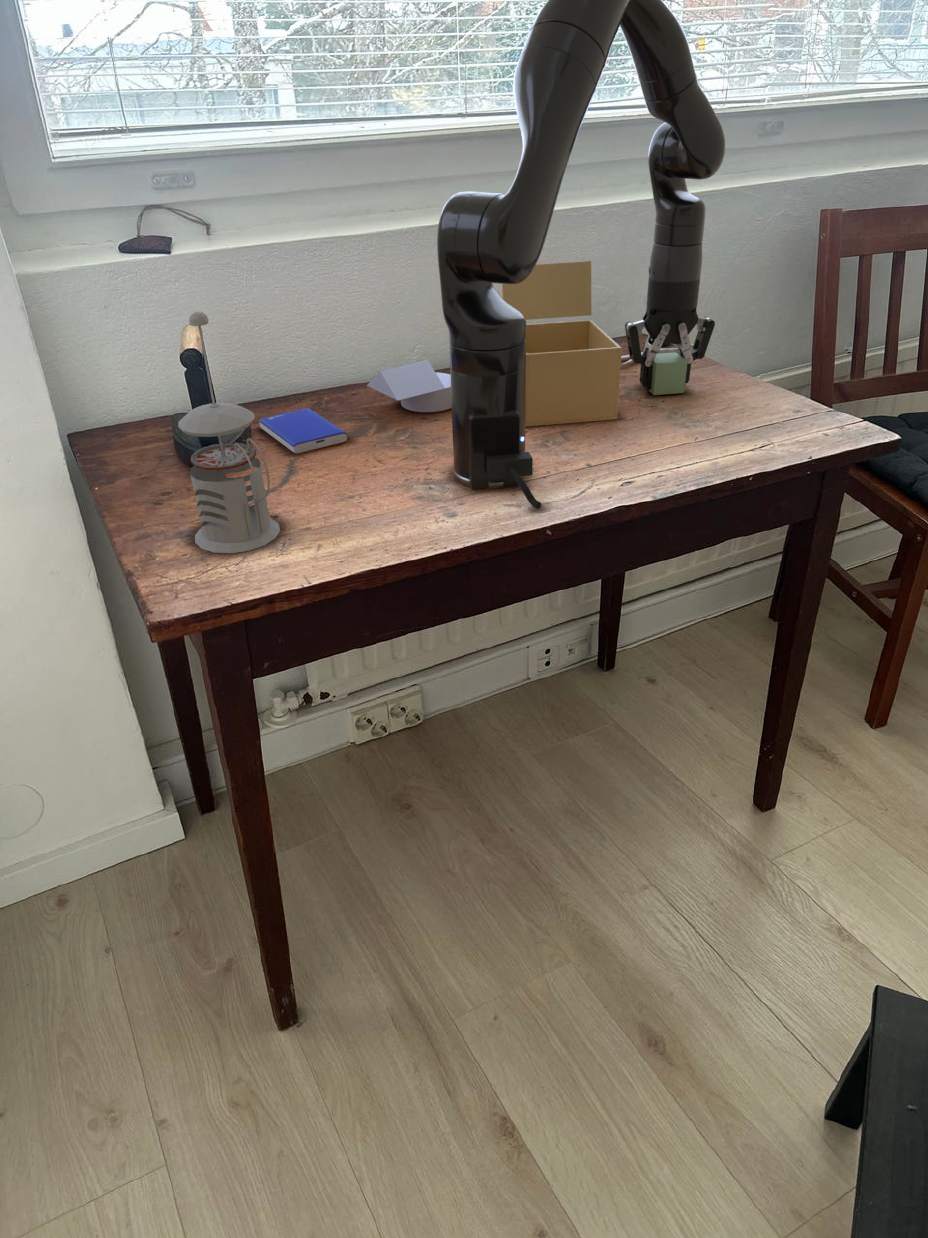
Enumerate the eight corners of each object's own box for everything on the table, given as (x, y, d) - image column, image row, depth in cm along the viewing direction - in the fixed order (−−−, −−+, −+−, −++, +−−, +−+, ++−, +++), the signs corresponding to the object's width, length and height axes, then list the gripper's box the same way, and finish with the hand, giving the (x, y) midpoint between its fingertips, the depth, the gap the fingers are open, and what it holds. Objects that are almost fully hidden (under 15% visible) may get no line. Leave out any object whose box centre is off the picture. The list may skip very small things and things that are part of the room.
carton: (503, 392, 144) (503, 325, 138) (588, 385, 145) (591, 319, 139) (524, 426, 130) (524, 354, 125) (617, 419, 132) (622, 347, 126)
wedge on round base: (399, 422, 133) (469, 403, 139) (395, 377, 130) (468, 360, 136) (368, 406, 139) (437, 389, 146) (364, 363, 136) (435, 347, 142)
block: (684, 392, 140) (687, 361, 137) (653, 395, 140) (656, 363, 137) (673, 383, 144) (676, 352, 142) (643, 385, 144) (645, 354, 141)
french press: (246, 507, 110) (209, 295, 96) (307, 534, 103) (277, 311, 89) (177, 536, 103) (127, 315, 90) (238, 567, 97) (194, 333, 83)
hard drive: (258, 418, 132) (292, 443, 123) (309, 407, 135) (346, 430, 126) (260, 428, 132) (294, 454, 124) (310, 417, 136) (347, 441, 127)
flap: (503, 321, 137) (503, 320, 138) (591, 315, 139) (590, 315, 139) (501, 266, 134) (501, 266, 135) (591, 260, 136) (590, 260, 136)
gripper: (635, 282, 129) (627, 397, 138) (730, 276, 130) (716, 391, 139) (620, 272, 135) (613, 383, 144) (711, 266, 137) (698, 376, 146)
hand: (663, 386), depth 142 cm, fingers closed on block, 5 cm apart
